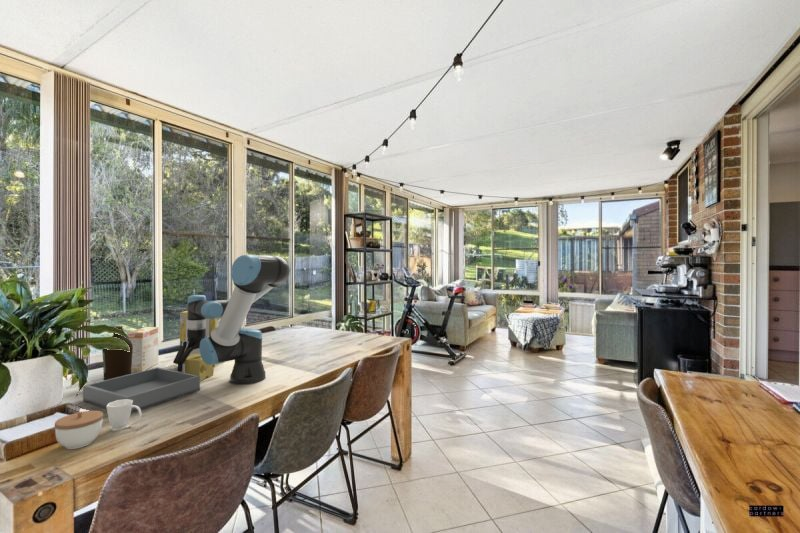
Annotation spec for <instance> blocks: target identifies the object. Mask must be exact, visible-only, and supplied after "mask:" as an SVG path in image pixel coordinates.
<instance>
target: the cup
mask: <svg viewBox="0 0 800 533" xmlns="http://www.w3.org/2000/svg"><path fill="white" fill-rule="evenodd" d="M132 403H133V400H130V399H123V400H116V401H113V402H110V403H108V405H107V406H106V407H107V409H106V411H107V418H108V421H109V426H110V427H111V429H110V430H111V431H114V432H116V431H122V430H124V428H125V429H129V428H131V427H133V426H134V425H135V424H137V423H138V422H139V421H141V420H142V419H141V418H142V415H143V413H142V410H141V409H140V408H139V407H138V406H136V405H132ZM133 407H135V408H136V409H137V410H138V411H137V412H138V416H139V417H138V419H137V420H136V421H135V422H134V423H132V424H130V425H129V422H130V421H129V420H130V418H131V414H132V413H131V409H132V408H133Z"/></svg>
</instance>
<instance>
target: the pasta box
mask: <svg viewBox="0 0 800 533" xmlns="http://www.w3.org/2000/svg"><path fill="white" fill-rule="evenodd" d="M221 318H222V316H221V317H218V318H215V319H212V318H211V319H208V318H206V327H205V329H206V336H210V334H211V332H212V330H213V329H215V328H217V327H218V325H219V323H220V321H221ZM187 320H188V317H187V310H185V311H180V312H179V345H180V344H181V341H188V337H187V330H188V328H187ZM206 336H205V337H206ZM187 346H188V344H187ZM187 346H186V348H187ZM185 350H186V349H185ZM184 352H185V351H184ZM192 354H200V348H198V349H194V350H193V351H191V353H190V354H189V356H190V355H192ZM224 363H225V362H223V363H218V364H213V365H212V368H216V367H218V366H220V365H223V364H224Z"/></svg>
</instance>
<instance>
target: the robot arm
mask: <svg viewBox="0 0 800 533" xmlns="http://www.w3.org/2000/svg"><path fill="white" fill-rule="evenodd" d="M289 276H290V265H289V263H288V262H287V261H286V259H284V258H283V257H281V256H278V255H274V254H273V255H268V254H267V255H266V254H265V255H263V254H262V255H261V254H242V255H240V256H238V257H237V258H236V259H234V261H233V263H232V265H231V273H230V277H231V280H232V281H233V285H234V289H233V291H232V292H231V295H230V298H229V299H228V298H227V299H219V300H207V297H206V295H205V294H193V295H189V296H188V297H187V303H186V306H187V310H186V311H187V317H188V320H187V328H188V330H187V337H188V341H181V344H180V343H179V348H178V351H177V353H176V354H175V357H174V360H173V361H172V362H173V364H176V365H177V371H179V372H183V373H185V364H183V363H184V362H185V360H186V359H187V357H188V356H189V354H190V353H191V351H193V350H194V349H198V348H200V354H201V357H202V359H203V361H204V362H205V363H206V364H208V365H212V364H218V363H222V364H224V363H225V362H230V361H231V362H232V361H234V364H233V367H232V372H231V373H230V376H229V381H230V382H231V383H232V384H238V385H239V384H241V385H243V384H244V385H245V384H246V385H247V384H252V383H253V384H254V383H258V382H261V381H263V380H265V379H266V371H265V367H264V364H263V361H262V359H263V357H262V355H263V350H262V349H263V334H262V331H261V330H260V329H255V328H242V327H243V325H244V322H245V320H246V318H247V315H248V313H249V311H250V309H251V307H252V304H254V303H255V302H256V301H258V300H259V299H260V298H261V297H263V296H264V295H266V294H267V293H269V292H270V291H271V290H272V289H275V288H278V287H280V286H281V285H283V284H284V283H285V282H286V281H287V280H288V278H289ZM221 316H222V318H221V321H220V323H219V325H218V327H217V328H215V329H213V330H212V332H211V334H210V336H206V329H205V327H206V318H208V319H211V318H212V319H215V318H218V317H221ZM205 336H206V337H205ZM187 344H188V346H187ZM186 346H187V348H186ZM185 349H186V350H185ZM184 351H185V352H184ZM223 362H224V363H223Z"/></svg>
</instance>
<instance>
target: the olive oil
mask: <svg viewBox="0 0 800 533" xmlns="http://www.w3.org/2000/svg"><path fill="white" fill-rule="evenodd" d="M114 327H116V328H118V329H121V330H122V331H124V329H123V325H115V326H113V328H114ZM124 336H125V335H124ZM124 336H121V335H118V334H115V333H112V336H111V337H117V338H120V339H122V340H124V341H125V342H126V343H127V344H128V345H129V347H130V352H127V351H124V350H107V349H103V348H102V350H101V351H102V353H101V354H102V366H103V367H102V370H103V381H104V380H108V379H112V378H116V377H120V376H124V375H128V374H132V372H131V367H132V353H133V345H132V342H131V341H130V340H128V339H127V338H128V337H126V336H125V337H126V338H125V337H124Z"/></svg>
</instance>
